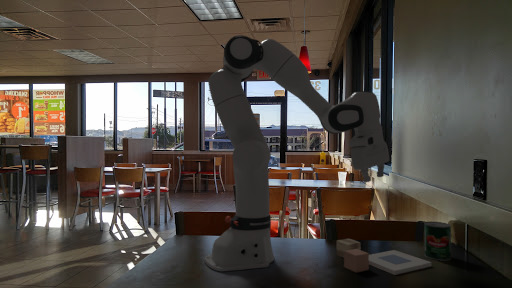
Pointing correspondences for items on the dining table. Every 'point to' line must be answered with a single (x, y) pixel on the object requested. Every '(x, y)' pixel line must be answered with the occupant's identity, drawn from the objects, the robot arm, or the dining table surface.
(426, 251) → the canned tomato
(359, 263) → the terracotta block
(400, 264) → the white flat square slab
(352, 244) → the birch block
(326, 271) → the dining table surface
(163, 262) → the dining table surface
